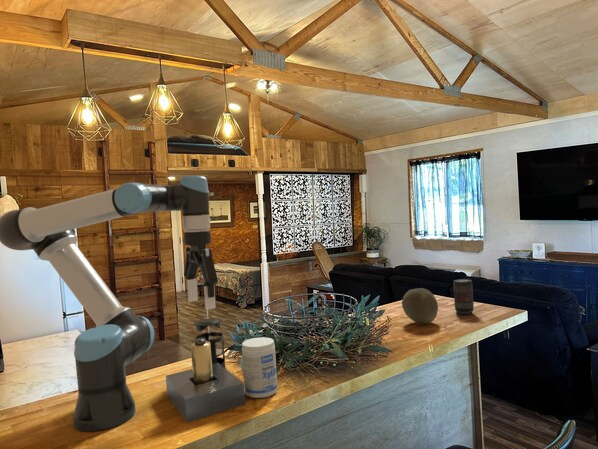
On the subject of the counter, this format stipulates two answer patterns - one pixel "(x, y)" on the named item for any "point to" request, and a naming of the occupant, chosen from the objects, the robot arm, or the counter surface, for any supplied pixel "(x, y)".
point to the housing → (205, 393)
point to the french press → (214, 352)
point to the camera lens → (463, 297)
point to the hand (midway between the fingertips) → (201, 304)
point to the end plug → (201, 361)
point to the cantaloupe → (420, 305)
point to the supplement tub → (259, 367)
